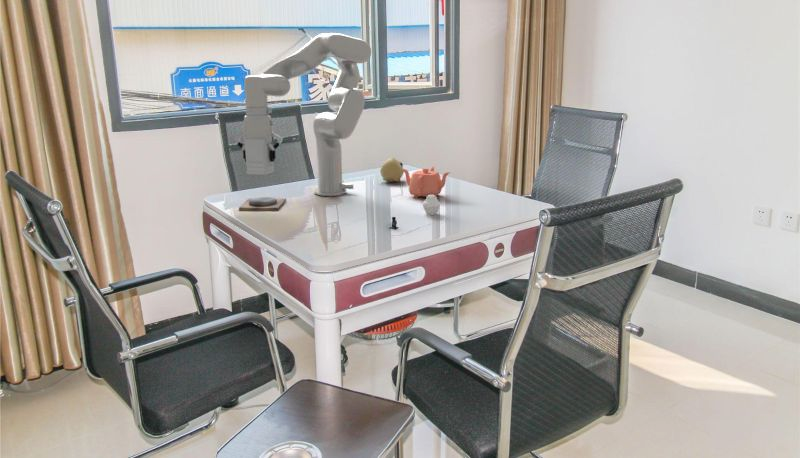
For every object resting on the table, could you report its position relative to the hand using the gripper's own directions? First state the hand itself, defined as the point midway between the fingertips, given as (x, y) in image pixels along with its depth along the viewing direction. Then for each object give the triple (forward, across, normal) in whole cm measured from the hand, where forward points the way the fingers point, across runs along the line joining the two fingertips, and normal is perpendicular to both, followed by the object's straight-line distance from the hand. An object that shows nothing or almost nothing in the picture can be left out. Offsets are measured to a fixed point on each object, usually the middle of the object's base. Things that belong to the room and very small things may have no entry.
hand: (259, 160), depth 223 cm
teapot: (+16, -60, -17) cm, 65 cm away
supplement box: (+5, 0, 0) cm, 5 cm away
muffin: (+16, -61, +11) cm, 64 cm away
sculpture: (+17, -48, +28) cm, 59 cm away
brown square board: (+17, 0, 0) cm, 17 cm away
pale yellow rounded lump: (+16, -46, -43) cm, 65 cm away
